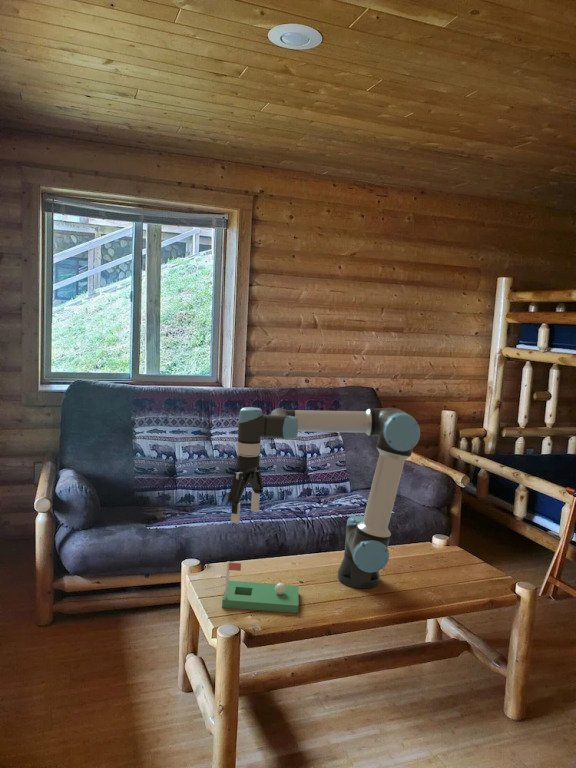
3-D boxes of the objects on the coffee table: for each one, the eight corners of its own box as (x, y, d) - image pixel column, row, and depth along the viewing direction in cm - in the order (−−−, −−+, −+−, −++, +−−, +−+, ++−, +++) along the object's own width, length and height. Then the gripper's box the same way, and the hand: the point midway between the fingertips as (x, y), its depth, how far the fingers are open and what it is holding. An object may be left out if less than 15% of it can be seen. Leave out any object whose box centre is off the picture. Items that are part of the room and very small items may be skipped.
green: (297, 593, 199) (298, 585, 199) (297, 613, 185) (298, 605, 185) (227, 587, 199) (227, 580, 199) (221, 607, 185) (222, 599, 185)
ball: (285, 591, 194) (286, 581, 193) (285, 597, 190) (286, 586, 190) (274, 591, 194) (275, 580, 193) (274, 596, 190) (275, 585, 190)
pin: (238, 598, 186) (241, 562, 185) (238, 600, 186) (240, 563, 184) (224, 597, 187) (227, 561, 185) (224, 598, 186) (226, 562, 185)
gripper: (256, 446, 207) (252, 505, 209) (218, 459, 184) (215, 525, 186) (275, 449, 204) (271, 509, 206) (239, 463, 181) (236, 530, 183)
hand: (245, 517), depth 196 cm, fingers open, 13 cm apart
